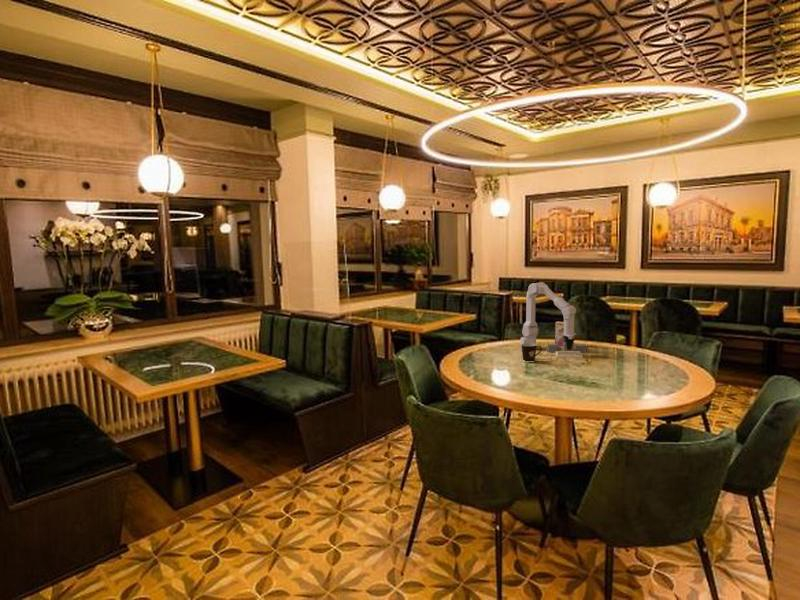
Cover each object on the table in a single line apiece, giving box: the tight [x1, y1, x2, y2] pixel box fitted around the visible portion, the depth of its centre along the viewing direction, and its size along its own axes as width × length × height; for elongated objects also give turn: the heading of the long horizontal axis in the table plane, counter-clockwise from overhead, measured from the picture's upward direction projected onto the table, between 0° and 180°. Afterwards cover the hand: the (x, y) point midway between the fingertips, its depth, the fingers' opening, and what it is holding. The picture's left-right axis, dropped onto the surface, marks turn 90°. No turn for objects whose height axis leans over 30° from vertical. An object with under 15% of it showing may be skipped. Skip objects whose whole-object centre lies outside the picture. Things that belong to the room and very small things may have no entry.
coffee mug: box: [521, 343, 543, 361], centre depth 270 cm, size 12×9×10 cm
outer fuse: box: [575, 343, 587, 354], centre depth 284 cm, size 6×4×4 cm, turn 77°
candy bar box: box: [554, 321, 575, 347], centre depth 303 cm, size 11×5×16 cm, turn 58°
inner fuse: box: [547, 343, 560, 354], centre depth 288 cm, size 6×4×4 cm, turn 77°
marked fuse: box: [562, 341, 576, 351], centre depth 276 cm, size 6×4×5 cm
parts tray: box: [555, 350, 584, 359], centre depth 277 cm, size 14×10×2 cm
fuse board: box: [545, 346, 590, 354], centre depth 286 cm, size 25×6×4 cm, turn 77°
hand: (568, 348), depth 277 cm, fingers closed on marked fuse, 4 cm apart
